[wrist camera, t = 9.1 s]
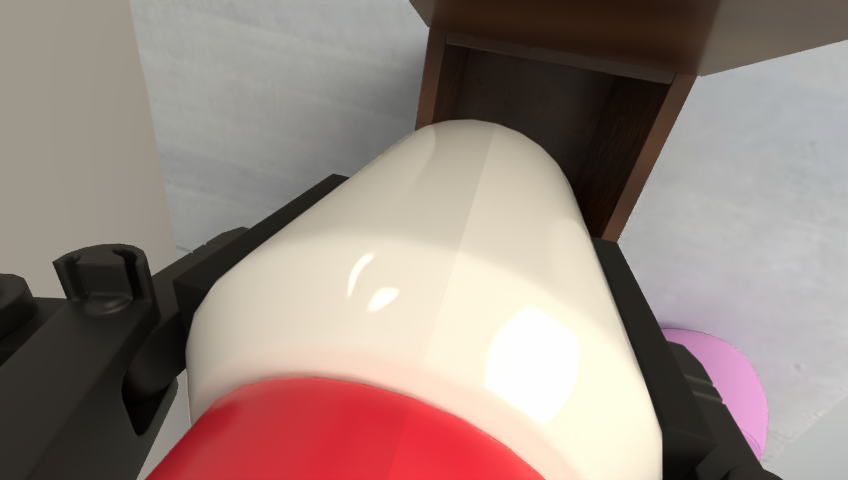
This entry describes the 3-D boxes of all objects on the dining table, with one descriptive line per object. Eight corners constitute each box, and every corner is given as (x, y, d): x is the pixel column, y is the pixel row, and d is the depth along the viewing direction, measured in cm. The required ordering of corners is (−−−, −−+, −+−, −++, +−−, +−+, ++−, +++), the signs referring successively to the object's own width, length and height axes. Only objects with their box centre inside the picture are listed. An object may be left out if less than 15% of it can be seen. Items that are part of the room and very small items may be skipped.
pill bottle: (351, 281, 16) (84, 648, 6) (379, 90, 12) (-228, 266, 2) (529, 339, 15) (548, 864, 5) (621, 157, 11) (1293, 856, 1)
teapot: (553, 326, 43) (564, 415, 32) (703, 273, 36) (778, 365, 25) (632, 446, 48) (663, 555, 38) (774, 420, 42) (859, 544, 31)
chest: (570, 215, 36) (594, 290, 25) (434, 183, 38) (398, 240, 27) (632, 60, 29) (701, 67, 18) (462, 30, 31) (430, 19, 20)
